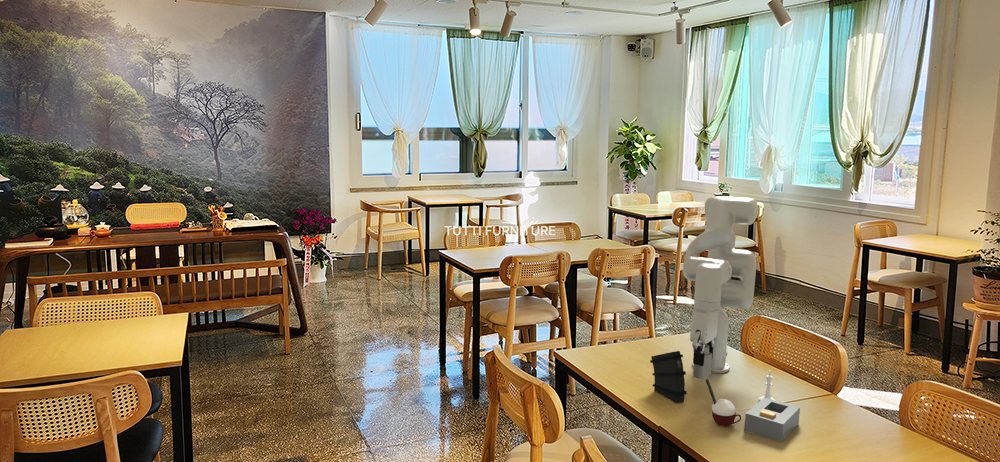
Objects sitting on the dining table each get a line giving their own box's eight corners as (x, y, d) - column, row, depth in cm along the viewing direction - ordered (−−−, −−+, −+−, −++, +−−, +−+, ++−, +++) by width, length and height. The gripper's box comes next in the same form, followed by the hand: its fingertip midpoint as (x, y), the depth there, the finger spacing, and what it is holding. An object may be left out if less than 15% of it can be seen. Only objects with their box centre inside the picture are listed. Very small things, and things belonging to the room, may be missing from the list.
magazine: (683, 403, 198) (671, 351, 201) (656, 405, 209) (645, 357, 213) (693, 401, 199) (681, 350, 203) (665, 404, 211) (655, 356, 214)
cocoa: (743, 426, 186) (746, 385, 185) (729, 432, 183) (733, 390, 181) (713, 414, 194) (717, 374, 192) (700, 419, 190) (703, 379, 188)
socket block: (762, 413, 196) (764, 394, 195) (798, 423, 189) (800, 404, 188) (743, 430, 184) (745, 410, 183) (781, 441, 178) (783, 421, 177)
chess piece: (775, 400, 206) (778, 369, 204) (776, 406, 201) (779, 374, 200) (758, 397, 208) (761, 366, 206) (758, 403, 203) (761, 372, 201)
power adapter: (711, 375, 205) (714, 338, 203) (700, 379, 202) (703, 342, 199) (702, 372, 207) (705, 335, 205) (692, 376, 204) (694, 339, 202)
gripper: (706, 296, 209) (702, 351, 213) (682, 308, 196) (678, 366, 200) (730, 300, 204) (725, 356, 208) (707, 313, 191) (702, 373, 195)
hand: (702, 361), depth 204 cm, fingers closed on power adapter, 5 cm apart
